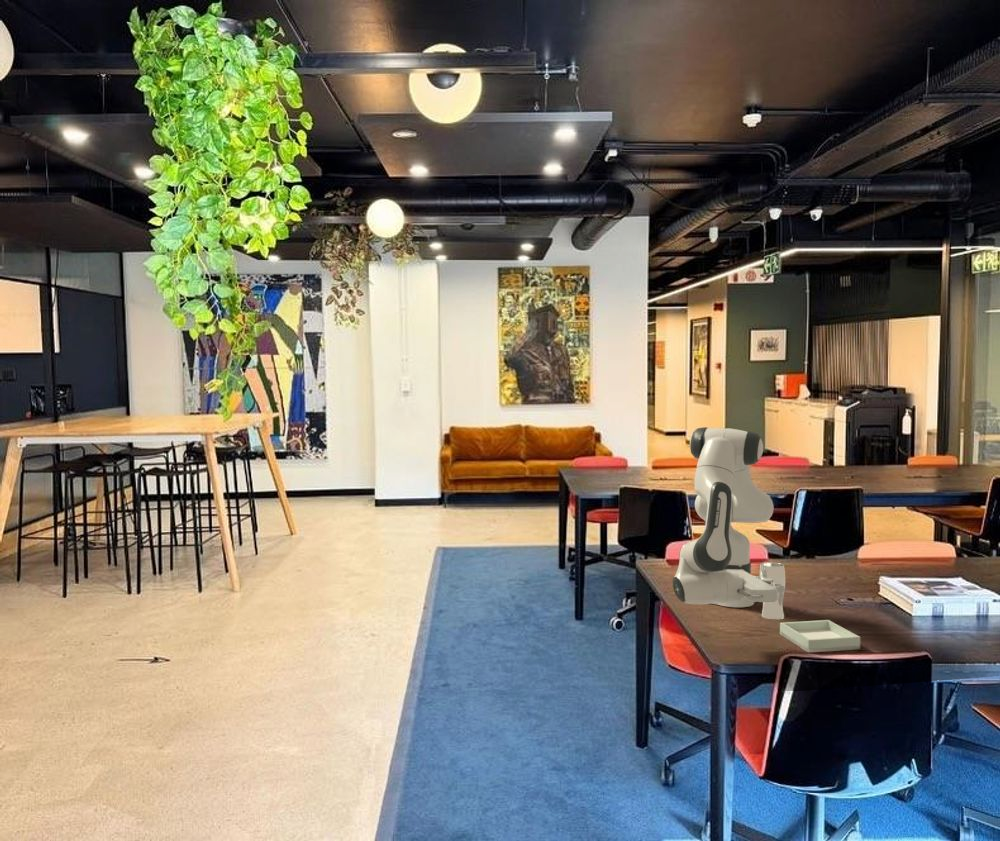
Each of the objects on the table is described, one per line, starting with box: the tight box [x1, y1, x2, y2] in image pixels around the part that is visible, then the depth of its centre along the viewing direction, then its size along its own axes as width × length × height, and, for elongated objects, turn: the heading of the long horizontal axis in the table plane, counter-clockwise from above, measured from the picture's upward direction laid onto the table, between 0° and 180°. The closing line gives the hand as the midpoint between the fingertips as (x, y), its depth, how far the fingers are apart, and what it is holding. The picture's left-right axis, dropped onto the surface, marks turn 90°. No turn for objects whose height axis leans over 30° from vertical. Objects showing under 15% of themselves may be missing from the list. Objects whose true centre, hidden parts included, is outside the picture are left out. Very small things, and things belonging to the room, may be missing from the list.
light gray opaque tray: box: [779, 619, 861, 653], centre depth 211 cm, size 15×16×4 cm
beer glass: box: [759, 561, 786, 620], centre depth 206 cm, size 7×7×15 cm
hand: (775, 584), depth 206 cm, fingers closed on beer glass, 7 cm apart
